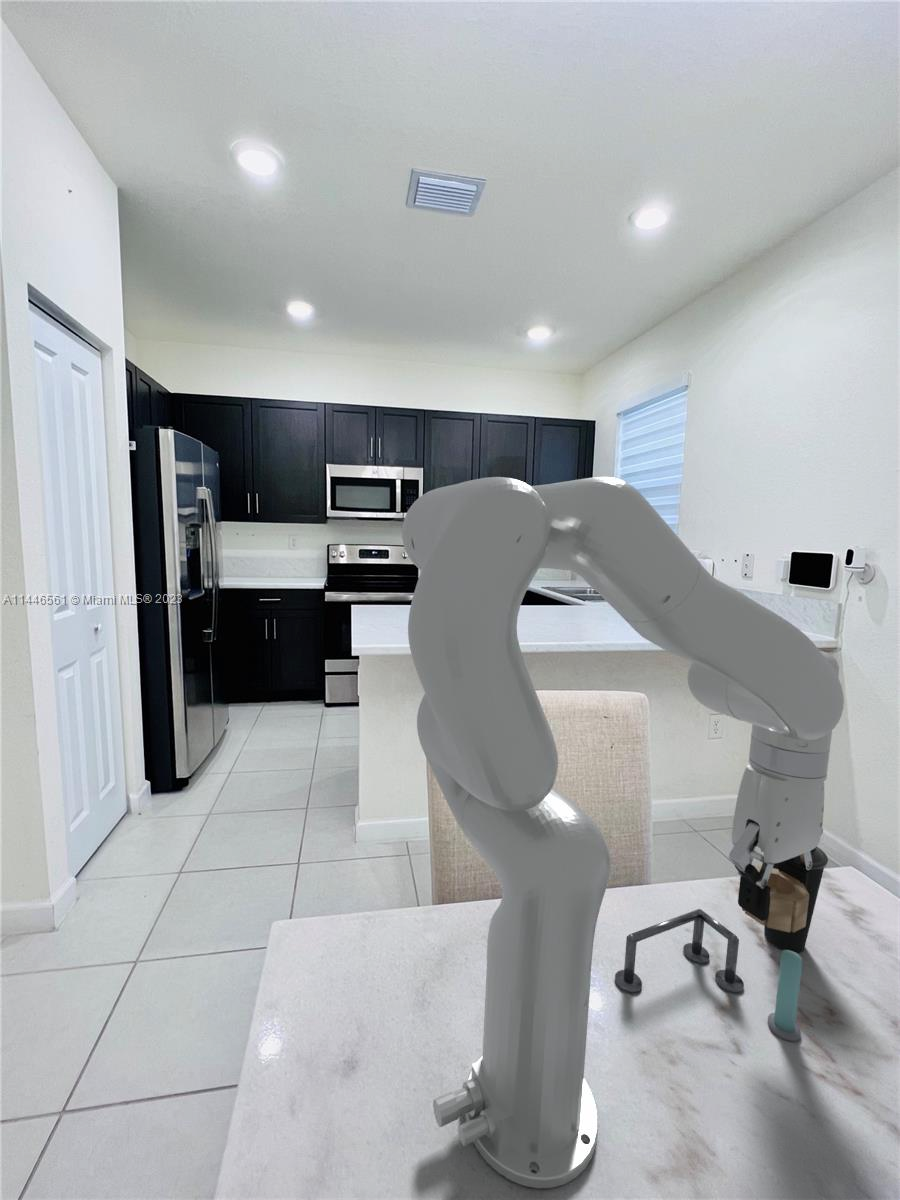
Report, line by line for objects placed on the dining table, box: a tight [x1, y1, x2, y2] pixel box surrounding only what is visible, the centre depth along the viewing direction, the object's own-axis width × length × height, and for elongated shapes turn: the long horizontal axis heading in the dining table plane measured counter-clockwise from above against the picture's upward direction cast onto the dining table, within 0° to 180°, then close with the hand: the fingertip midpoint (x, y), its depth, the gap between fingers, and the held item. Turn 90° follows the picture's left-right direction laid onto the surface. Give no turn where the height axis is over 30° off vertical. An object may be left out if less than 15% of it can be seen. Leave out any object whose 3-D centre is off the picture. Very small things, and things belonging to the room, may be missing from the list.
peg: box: [767, 950, 803, 1043], centre depth 61 cm, size 3×3×9 cm
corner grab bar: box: [614, 908, 745, 995], centre depth 67 cm, size 15×8×6 cm, turn 115°
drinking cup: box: [763, 846, 829, 954], centre depth 74 cm, size 8×8×20 cm
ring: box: [741, 864, 809, 933], centre depth 62 cm, size 6×6×4 cm
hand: (771, 903), depth 62 cm, fingers closed on ring, 6 cm apart
